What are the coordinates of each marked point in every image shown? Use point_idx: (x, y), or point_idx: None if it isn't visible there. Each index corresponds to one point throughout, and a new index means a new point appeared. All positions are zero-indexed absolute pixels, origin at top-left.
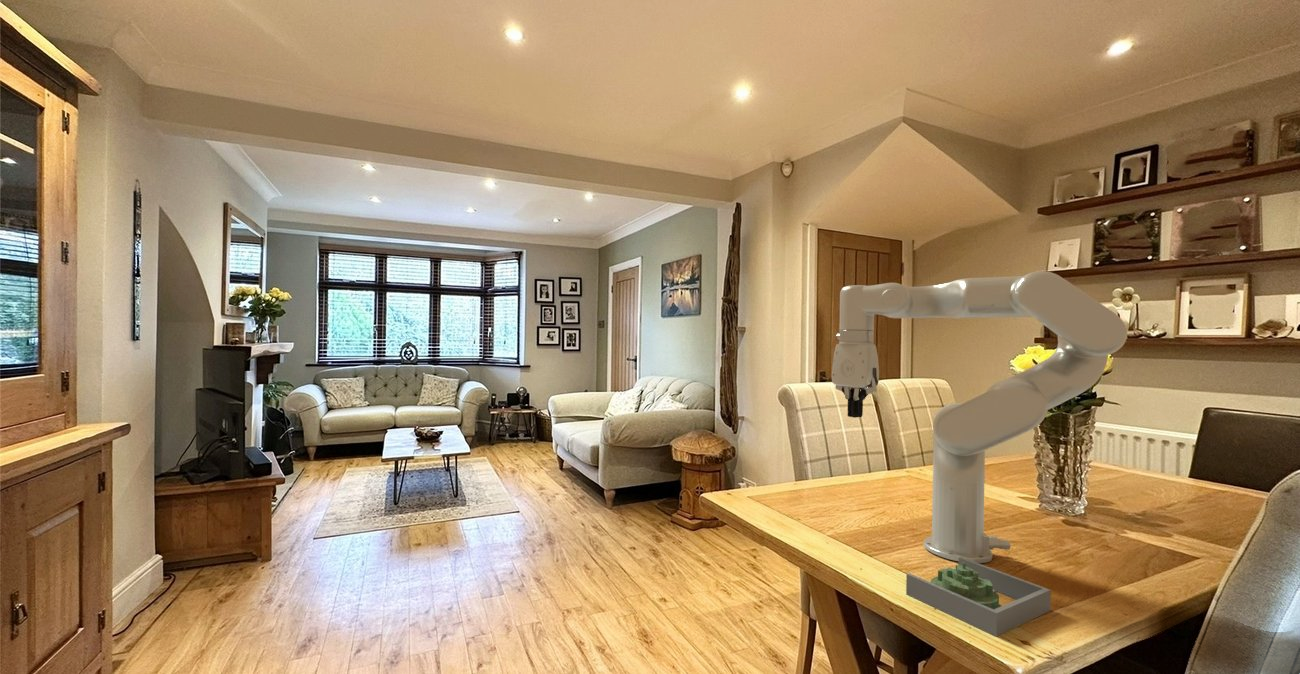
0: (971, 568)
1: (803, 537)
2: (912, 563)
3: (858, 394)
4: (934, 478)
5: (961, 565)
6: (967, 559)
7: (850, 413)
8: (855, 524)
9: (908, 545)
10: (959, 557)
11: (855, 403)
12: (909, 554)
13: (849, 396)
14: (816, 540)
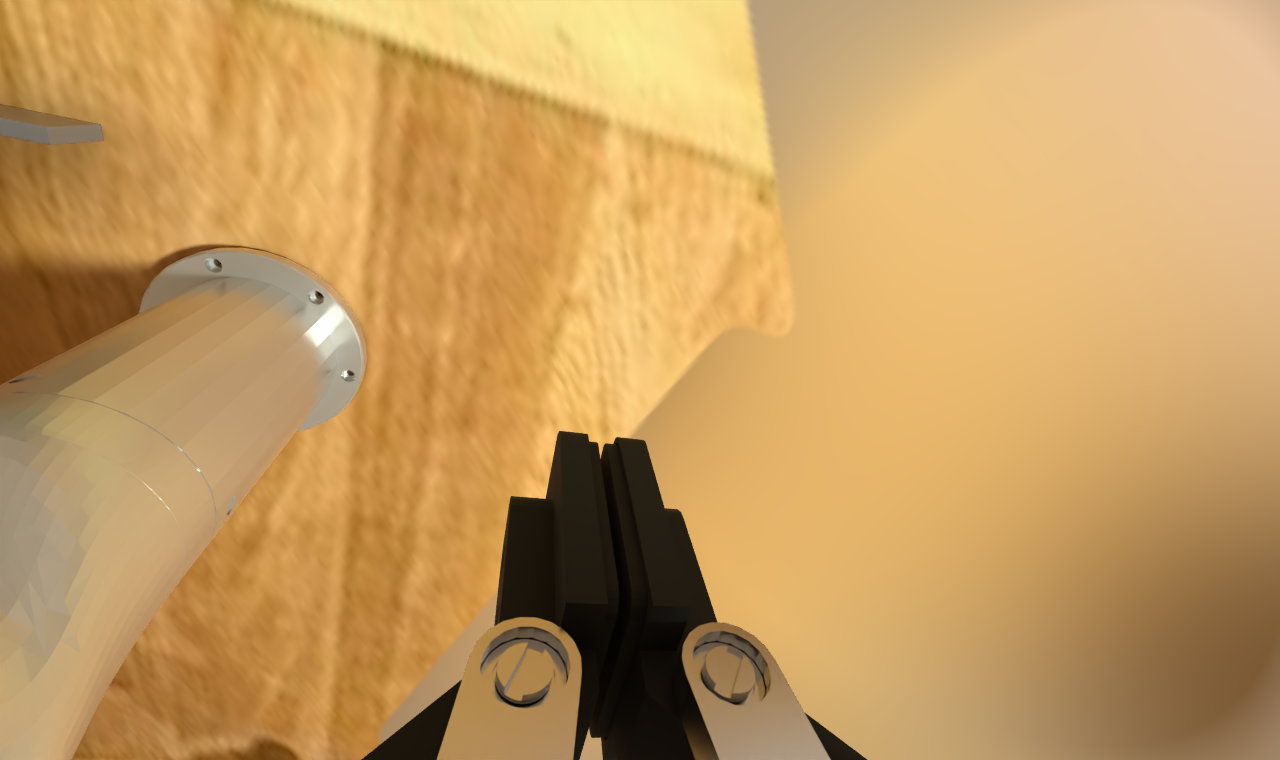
0: (3, 113)
1: (652, 9)
2: (259, 107)
3: (437, 755)
4: (152, 421)
5: (52, 122)
6: (17, 137)
7: (608, 459)
8: (601, 313)
9: (382, 270)
10: (45, 131)
11: (555, 596)
12: (324, 188)
13: (684, 681)
14: (602, 23)
